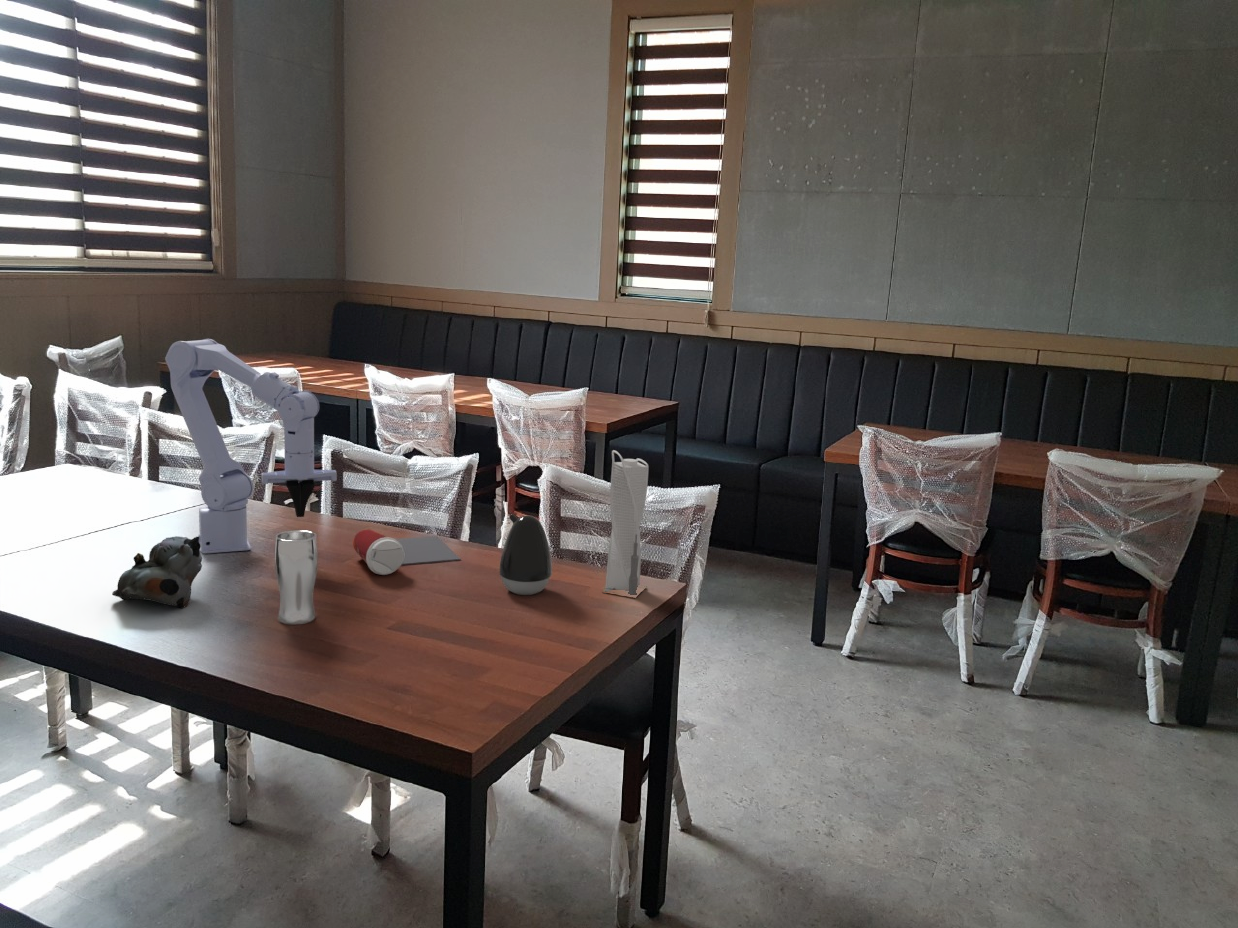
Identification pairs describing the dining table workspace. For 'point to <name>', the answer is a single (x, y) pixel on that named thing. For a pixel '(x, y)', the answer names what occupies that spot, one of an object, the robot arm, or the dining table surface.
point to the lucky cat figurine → (163, 573)
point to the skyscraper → (626, 523)
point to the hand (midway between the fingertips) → (299, 515)
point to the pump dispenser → (525, 557)
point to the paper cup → (379, 551)
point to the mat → (426, 550)
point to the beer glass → (296, 575)
